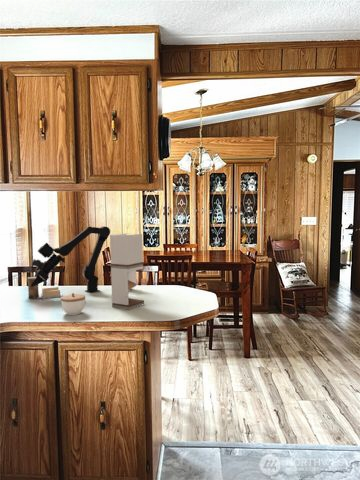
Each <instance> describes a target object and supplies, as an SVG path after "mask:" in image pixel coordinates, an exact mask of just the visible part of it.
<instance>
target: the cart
mask: <svg viewBox="0 0 360 480" xmlns="http://www.w3.org/2000/svg"><path fill="white" fill-rule="evenodd" d="M35 278H36V277H34V276H29V277H27V291H28V294H27V295H28V300H33V299H39V298H40V295H39V284H37V285H35V286H33V287H32V286H31V284H32V283H33V281H34V280H35Z"/></svg>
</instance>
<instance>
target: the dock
mask: <svg viewBox="0 0 360 480" xmlns="http://www.w3.org/2000/svg"><path fill="white" fill-rule="evenodd" d="M41 292H42V293H40V295H41V298H42V299H43V300H44V299H53V298H61V297H63V296H64V295H63V293H62V291H61V289H59V286H54V287H53V286H52V287H43V288H42V289H41Z"/></svg>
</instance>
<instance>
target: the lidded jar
mask: <svg viewBox="0 0 360 480" xmlns="http://www.w3.org/2000/svg"><path fill="white" fill-rule="evenodd" d="M60 301H61V302H60V303H61V308H62V310H63V312H64V313H65V314H66V315H68V316H77V315H80V314H81V313H82V312H83V310H84V309H85V306H86V295H85V294H80V293H74V292H72V293H71V294H67V295H63V297H60Z"/></svg>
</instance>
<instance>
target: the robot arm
mask: <svg viewBox="0 0 360 480" xmlns="http://www.w3.org/2000/svg"><path fill="white" fill-rule="evenodd" d="M91 234H96V236H97V240H96V242H95V245H94V248H93V250H92V253H91V255H90V258H89V261H88V263H87V264H84V265H83V268H82V269H81V272H82V276H83V277H84V278H85V280H86V289H85V290H84V292H85V293H91V294H92V293H97V292H100V291H101V290H100V289H98V288H99V286H98V281H99V277H98V276H96V275H95V274H96V266H97V262H98V259H99V258H100V254H101V251H102V249H103V246H104V243H105V242H106V241H107V239H108V238H109V237H110V235H111V229H110V227H107V226H100V227H94V226H89V225H88V226H87V227H86V228H84V229H83V230H82V231H81V232H80V233H79V234H77V235H76V236H75V237H74V238H72V239H71V240H70V241H68V242H66V243H64V244H61V245H60V246H59V247H56V248H53V247H52V246H51V245H50V244H49V243H48V242H45V243H44V244H42V246H40V247H39V248H38V249H37V252H38V253H39V254H40V255H41V256H42V257H44V259H45V258H48V259H47V260H45V261H44V262H43V261H42V260H40V259H35V258H33V259H32V261H31V266H32V267H36V268H35V271H34V272H35V273H34V276H33V277H36V278H35V280H34V281H33V283H32V284H31V286H32V287H33V286H35V285H37V284H38V285H40V284H42V283H44V282H46V281H48V279H49V278H50V276H49V275H50V273H51V272H52V271H54V270H55V269H56V267H57V266H58V265H59V264H60V263H61V262H62V263H64V264H65V263H66V261H65V260H66V257H67V256H69V255H70V253H71V252H72V251H73V250H74V248H75V247H76V246H77V245H79V244H80V243H81V242H82V241H83V240H85V239H86V238H87V237H88V236H90V235H91Z"/></svg>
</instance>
